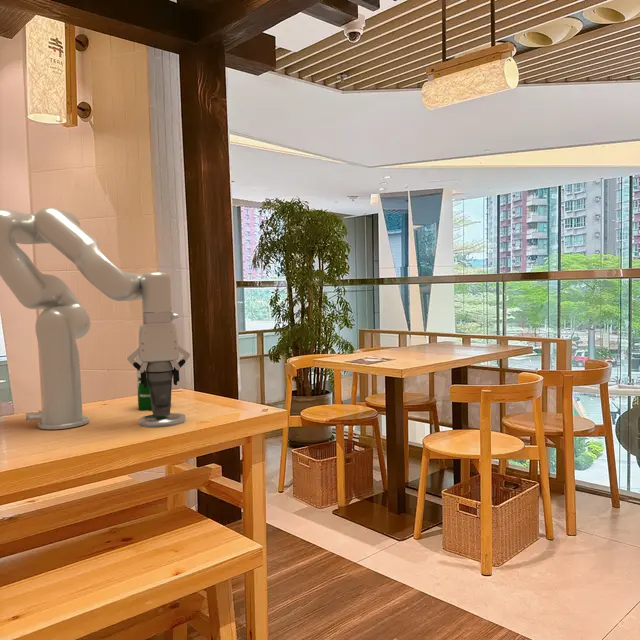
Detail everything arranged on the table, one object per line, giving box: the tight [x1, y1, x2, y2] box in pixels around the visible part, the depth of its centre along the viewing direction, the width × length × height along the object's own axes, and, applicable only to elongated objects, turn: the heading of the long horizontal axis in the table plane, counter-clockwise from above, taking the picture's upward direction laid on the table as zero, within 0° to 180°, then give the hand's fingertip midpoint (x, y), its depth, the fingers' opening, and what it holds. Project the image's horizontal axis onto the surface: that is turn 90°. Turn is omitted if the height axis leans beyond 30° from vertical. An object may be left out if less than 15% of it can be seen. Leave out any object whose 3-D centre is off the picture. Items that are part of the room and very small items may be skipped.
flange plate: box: [138, 412, 187, 428], centre depth 159 cm, size 12×12×1 cm
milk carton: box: [133, 349, 152, 411], centre depth 179 cm, size 9×9×20 cm
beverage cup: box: [146, 361, 174, 416], centre depth 159 cm, size 7×7×20 cm
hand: (160, 385), depth 158 cm, fingers closed on beverage cup, 7 cm apart
